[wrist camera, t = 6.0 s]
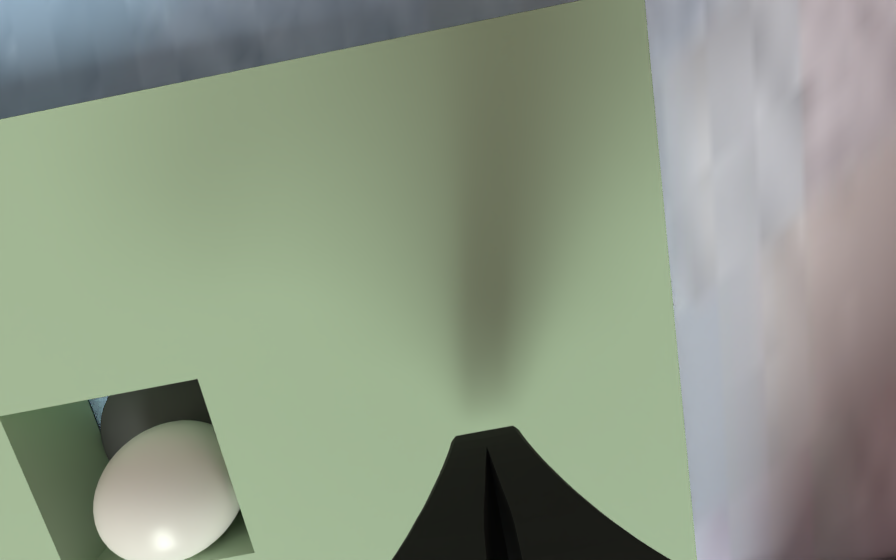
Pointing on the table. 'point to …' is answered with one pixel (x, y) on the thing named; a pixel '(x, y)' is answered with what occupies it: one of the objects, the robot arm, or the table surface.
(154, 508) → the ball
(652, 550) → the robot arm
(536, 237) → the putting mat
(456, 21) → the table surface
